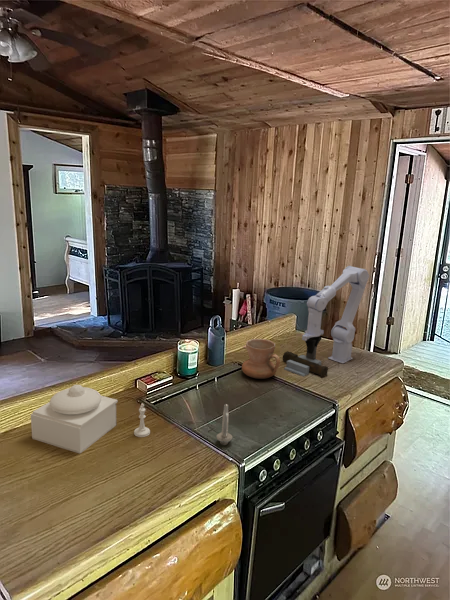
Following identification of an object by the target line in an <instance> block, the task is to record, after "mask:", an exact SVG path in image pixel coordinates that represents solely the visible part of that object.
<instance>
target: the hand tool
mask: <svg viewBox="0 0 450 600" xmlns="http://www.w3.org/2000/svg"><path fill="white" fill-rule="evenodd" d="M298 356H299V355H298V354H297V353H293V352H292V351H288V350H287V351H285V352H284V353H283V355H282V361H283V362H284V363H285V364H287V361H288V360H292V361H295V362H298V363H301V364H304V365H306V366H309V372H311V373H313V374H316V375H319V376H320V377H321V378H325V377H327V375H328V372H329V367H328V366H326V365H322V364H321V365H319V364H317V363H314V362H310V361H308V360H305V359H302V358H300V357H298Z"/></svg>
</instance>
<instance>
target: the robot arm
mask: <svg viewBox="0 0 450 600" xmlns="http://www.w3.org/2000/svg"><path fill="white" fill-rule="evenodd" d="M369 279H370V274H369V271H368V270H367V269H366V268H361V267H356V266H352V265H347V266H346V267H345V268H343V270H342V273H341V275H339V277H337V279H336V280H334V282H333V283H331V285H325V286H324V287H323V288H322V289H321V290H320V291H318V292H317V293H316V294H315V295H312V296H310V297H308V299H307V302H306V306H307V312H308V317H307V328H306V330H304V333H303V335H302V336H301V340H302V341H304V342H305V345H306V352H307V351H308V353H311V354H312V353H313V349H314V346H317V347H318V345H319V343H320V341H321V340H322V337H321V336H323V335H324V331H325V330H324V329H321V326H322V318H323V311H324V310H325V309H326V307H327V305H328V303H329V302H330V301H331V300H332V299H333V298H334V297H335V296H336V295H337V291H339V290H340V289H341V288H343V287H344V286H346V285H347V284H348V283H349V284H350V285H351V290H350V293H349V297H348V299H347V302H346V305H345V307H344V310H343V313H342V316H341V318H340V319H339V320H337V321H336V322H335V323H334V326H333V327H332V328H331V330H330V336H331V337H332V340H333V344H332V345H333V346H332V352H331V353H332V354H331V356H328V357H327V359H328V360H331V361H334V362H337V363H341V364H345V363H347V362H349V361H351V360H353V357H352V350H353V343H352V342H353V341H354V338H355V333H356V330H357V329H356V327H355V326H354V320H355V317H356V315H357V311H358V309H359V306H360V304H361V301H362V298H363V295H364V293H365V290H366V286H367V284H368V280H369Z"/></svg>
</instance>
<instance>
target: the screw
mask: <svg viewBox="0 0 450 600" xmlns="http://www.w3.org/2000/svg"><path fill="white" fill-rule="evenodd" d="M229 415H230V413H229V404H227V403H225V404H224V405H223V411H222V421H221V422H222V423H221V424H222V425H221V432H219V433H217V434H216V440H217V441H219V444H220V445H222V446H227V445H228V444H229V443H230V442H231V441H232V440H233V435H232V434H231V433H229V432H228V431H229V419H230V417H229Z"/></svg>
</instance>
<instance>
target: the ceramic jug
mask: <svg viewBox="0 0 450 600" xmlns="http://www.w3.org/2000/svg"><path fill="white" fill-rule="evenodd" d="M242 348H243V349H245V350H247V354H248V359H246V360H245V361H243V363H242V365H241V370H242V372H243V374H244V375H246V376H247V377H250V378H253V379H257V380H258V379H260V380H262V379H269V378H271V377H273V376H275V375H276V373H277V370H278V368H279V367H280V364H281V359H280V357H279V355H277V354H276V353H275V349H276V343H275V342H274V341H272V340H269V339H264V338H252V339H248V340H247V341H245V345H243V346H242ZM274 353H275V354H274ZM272 358H275V360H276V362H275V363H276V364H275V363H274V362H272V361H271V359H272Z"/></svg>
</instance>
